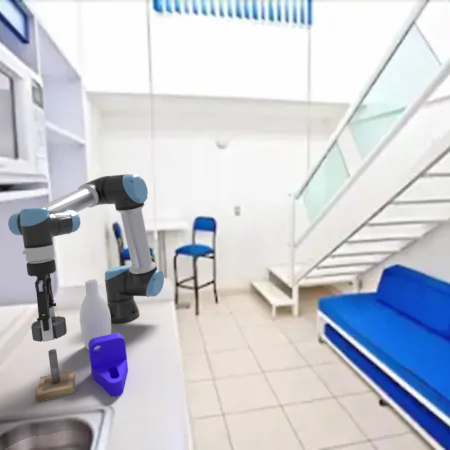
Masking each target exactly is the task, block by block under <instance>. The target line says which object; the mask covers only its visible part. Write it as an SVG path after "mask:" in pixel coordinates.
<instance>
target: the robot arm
mask: <svg viewBox="0 0 450 450" xmlns="http://www.w3.org/2000/svg"><path fill="white" fill-rule="evenodd" d="M77 188H78V189H77V190H74V191H72V192H69V193H67V194H65V195H63V196H60V197H58V198H56V199H53V200H52V201H51V200H50V201H49V202H50V203H49V202H47V204H46V203H44V204H42V205H40V206H35V207H26V208H25V207H24V208H22V209H21V210H20V211H19V212H15V213H13V214H11V215H10V216H9V219H8V221H7V225H8V229H9V231H10V233H12V234H13V235H16V236H22V239H23V246H24V250H23V251H22V254H23V255H25V261H27V263H26V265H25V266H26V271H27V275H28V276H30V277H36V281H34V289H35V292H36V299H37V300H36V301H37V302H36V303H37V311H38V313H37V314H38V318H36V321H40V323H41V330H42V338H43V341H42V342H43V343H44V342H50V341H54V340H55V339H54V338H53V330H52V322H51V317H54V316H56V313H55V307H57V303H56V302H55V300H54V294H53V286H52V278H51V274H54V273H55V272H56V271H57V267H56V260H55V259H54V258H55V257H56V256H55V250H54V242H53V238H54V237H58V236H63V235H70V234H72V233H75V232H77V231H78V230H79V228H80V227H81V217H80V215H79V212H81V211H82V210H84V209H87V208H94V207H97V206H101V205H114V206H115V211H117V212H118V213H119V214H120V217H121V221H122V225H123V231H124V236H125V240H126V244H127V248H128V249H127V250H128V253H129V258H130V263H131V265H129V264H128V265H119V266H116V267H112V268H109V269H108V270H106V271H105V272H104V283H105V293H106V303H107V305H108V307H109V311H110V314H111V324H120V323H127V322H131V321H133V320H136V319H137V318H138V317H139V316H140V309H139V307H138V305H137V302H136V300H135V297H148V298H149V297H157V296H158V295H159V294H160V293H161V292H162V289H163V287H164V282H165V275H164V274H165V273H164V272H163V271H162V270H161V269H157V264H156V262H154V261H153V260H152V255H151V250H150V246H149V239H148V234H147V230H146V226H145V219H144V215H143V208H144V206H145V202H146V201H147V199H148V194H149V191H148V186H147V184H146V181H145V180H144V179H143V178H142V177H141V175H139V174H136V173H135V174H133V173H132V174H131V173H130V174H129V173H125V174H116V175H105V176H101V177H97V178H95V179H93V180H89V181H88V182H86V183H84V184H81V185H80V186H79V187H77ZM53 339H54V340H53Z"/></svg>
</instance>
